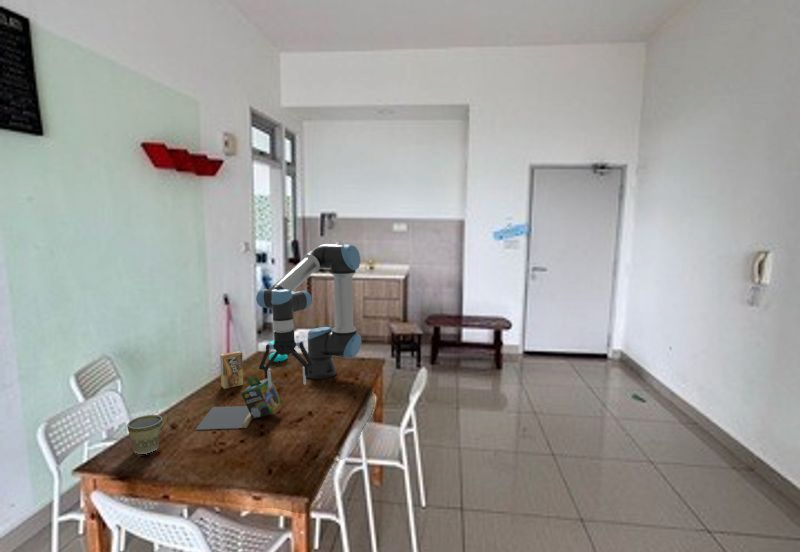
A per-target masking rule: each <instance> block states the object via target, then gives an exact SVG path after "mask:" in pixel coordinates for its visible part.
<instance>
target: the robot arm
mask: <svg viewBox="0 0 800 552" xmlns="http://www.w3.org/2000/svg"><path fill="white" fill-rule="evenodd" d="M360 264H361V254H360V251H359V249H358V248H357V247H356V246H355V245H353V244H347V243H342V244H341V243H337V244H336V243H324V244H320V245H318V246H316V247H313V248H312V249H310V250H309V251H307V252H306V253H305V254H304V255H303V256H302V257H301V260H300V261H299V262H298V263H296V265H294V266H293V268H291V269H290V270H289V271H288V272H287V273H285V275H283V276H282V277H281V278H279V280H277V281H276V282H275V283H274V284H273V285H272V286H271V287H270V288H269V289H267V288H264V289H263V288H262V289H260V290H259V291H258V292H257V294H256V298H255V299H256V301H255V302H256V304H257V305H258V306H259V307H260V308H265V309H272V324H273V325H272V326H273V327H272V328H273V331H274V332H273V341H274V344H269V343H270V342H269V343H267V344H266V345H265V352H264V354H263V357H262V359H261V361H260V365H259V366H258V369H259V370H263V372H264V379H267V378H268V388H269V387H271V385H272V382H271V378H272V372H271V368H270V367H271V366H272V364H273V361H274V360H275V358H276V357H277V356H278V354H280V355H285V354H286V355H287V356H288V355H292V356H293V357H294V358H295V359H296V360H297V361H298V362H299V363H300V364H301V365H302V378H303V382H302V383H303V385H304V386H306V384H307V378H309V379H312V380H313V379H315V380H323V379H329V378H332V377H334V376H335V375H336V374H337V369H336V366H335V362H334V360H333V357H341V358H351V359H352V358H355V357H356V356H358V353H359V352H360V350H361V346H362V336H361V334H359V333H358V332H357V327H355V325H354V296H353V295H354V294H353V292H354V291H353V290H354V289H353V281H354V280H353V276H354V275H355V274H356V271H357V270H358V269H359V267H360ZM321 269H328V270H329V269H330V274H331V275H332V276H333V286H334V288H333V289H334V293H333V294H334V327H333V328H332V327H330V326H321V327H317V328H315V327H314V328H312V329H310V330H309V331H308V333H307V349H306V347H305V345H304V341H299V342H298V341H297V342H296V340H295V330H294V329H295V324H294V313H295V312H300V311H304V310H306V309H308V308H310V306H311V305H312V300H313V299H312V296H311V294H310V293H309V291H306V290H298V291H295V290H296V289H297V288H298V287H300V285H301V284H302V283H304V282H305V281H306V280H307V279H308V278H309V277H310V276H311V275H312V274H314V273H317V272H318V271H320V270H321ZM273 347H274V349H275V352H276V353H275V352H274V353H275V354H274V355H273V357H272V358H271V359H270V360H269V361H268V362H267V364H266V365H265V363H266V361H267V359H268V357H269V355H270V352H271V350H274V349H272V348H273ZM296 347H297V348H298V349H300V351H301V353H302V355H303V357H304V358H303V357H302V356H301V355H300V354H299V353H298V352H297V349H296Z"/></svg>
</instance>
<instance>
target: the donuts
mask: <svg viewBox="0 0 800 552" xmlns="http://www.w3.org/2000/svg"><path fill="white" fill-rule="evenodd" d="M269 344H274V340H271V341H270V342H269ZM271 350H275V349H274V347H273V348H272V349H271ZM275 353H276V350H275V352H272V353H269V354H268V359H269V361H270V359H271V358H272V357H273V355H274V354H275ZM288 357H289V356H288V355H286V354H285V355H280V354H278V356H277V357H276V358H275V360H274V361H273V362H274V363H279V361H280V362H284V361H286V360H287V359H288ZM273 362H272V363H273Z"/></svg>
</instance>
